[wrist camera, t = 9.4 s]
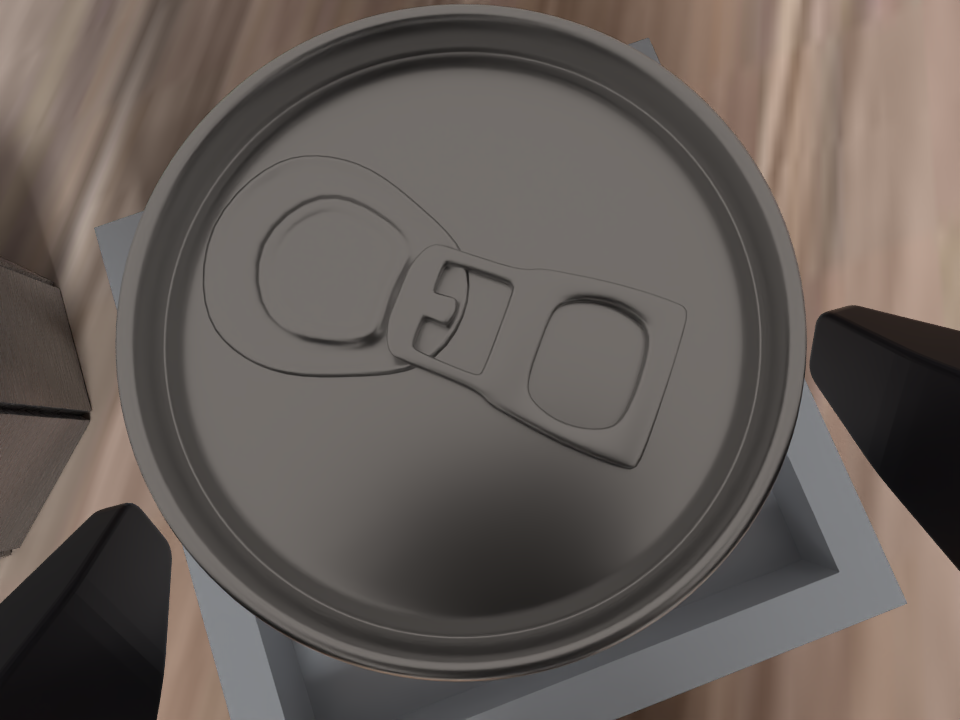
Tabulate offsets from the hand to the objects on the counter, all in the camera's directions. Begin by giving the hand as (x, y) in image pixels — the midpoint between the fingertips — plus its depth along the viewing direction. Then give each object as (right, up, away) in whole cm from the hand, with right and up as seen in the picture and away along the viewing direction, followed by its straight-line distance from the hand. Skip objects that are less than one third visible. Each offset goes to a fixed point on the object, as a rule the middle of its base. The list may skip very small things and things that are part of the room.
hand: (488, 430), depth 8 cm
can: (0, -1, +9) cm, 9 cm away
